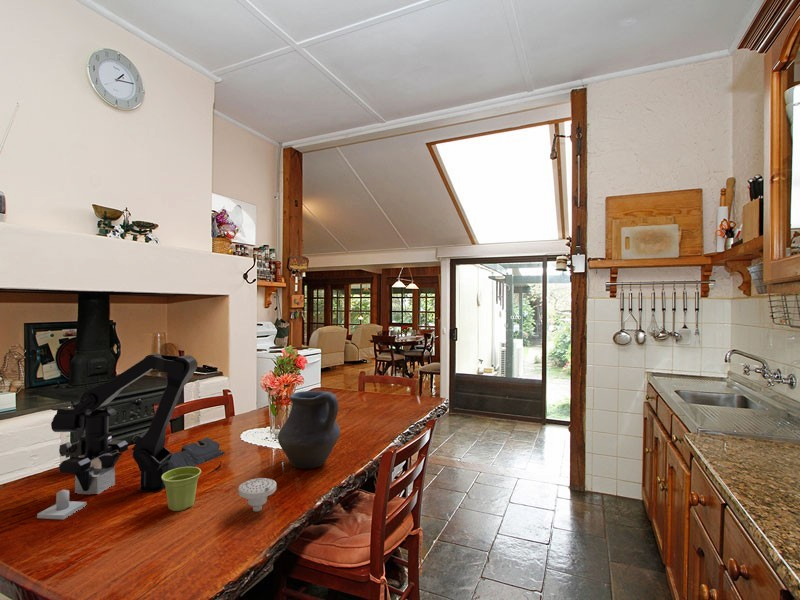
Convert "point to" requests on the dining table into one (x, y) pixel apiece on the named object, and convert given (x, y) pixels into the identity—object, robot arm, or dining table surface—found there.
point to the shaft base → (63, 512)
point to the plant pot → (181, 487)
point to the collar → (98, 481)
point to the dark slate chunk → (195, 454)
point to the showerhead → (257, 491)
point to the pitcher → (310, 429)
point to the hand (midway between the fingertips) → (95, 485)
